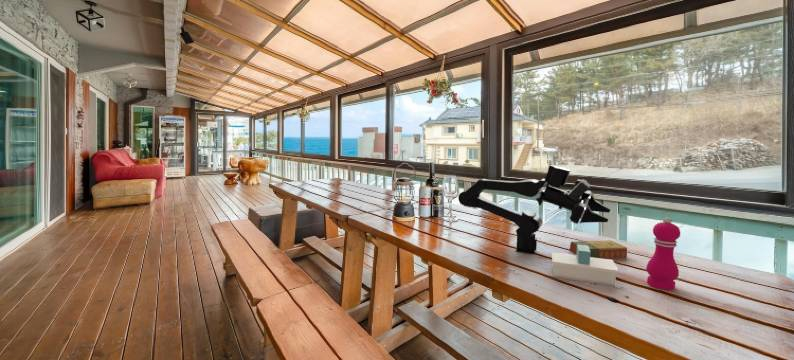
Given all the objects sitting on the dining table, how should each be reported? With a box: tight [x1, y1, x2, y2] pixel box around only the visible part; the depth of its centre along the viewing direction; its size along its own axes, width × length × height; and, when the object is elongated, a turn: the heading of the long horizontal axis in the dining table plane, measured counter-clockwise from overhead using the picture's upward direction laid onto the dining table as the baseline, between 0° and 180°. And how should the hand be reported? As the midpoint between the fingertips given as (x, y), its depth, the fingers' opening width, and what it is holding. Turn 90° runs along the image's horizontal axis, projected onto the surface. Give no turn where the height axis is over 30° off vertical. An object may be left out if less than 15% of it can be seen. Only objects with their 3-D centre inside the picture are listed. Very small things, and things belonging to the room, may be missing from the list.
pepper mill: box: [645, 216, 681, 291], centre depth 92 cm, size 7×7×20 cm
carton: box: [569, 240, 628, 259], centre depth 118 cm, size 8×16×4 cm, turn 93°
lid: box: [551, 245, 619, 274], centre depth 99 cm, size 17×9×5 cm, turn 66°
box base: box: [552, 264, 617, 287], centre depth 100 cm, size 16×8×4 cm, turn 66°
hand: (609, 215), depth 107 cm, fingers open, 9 cm apart
